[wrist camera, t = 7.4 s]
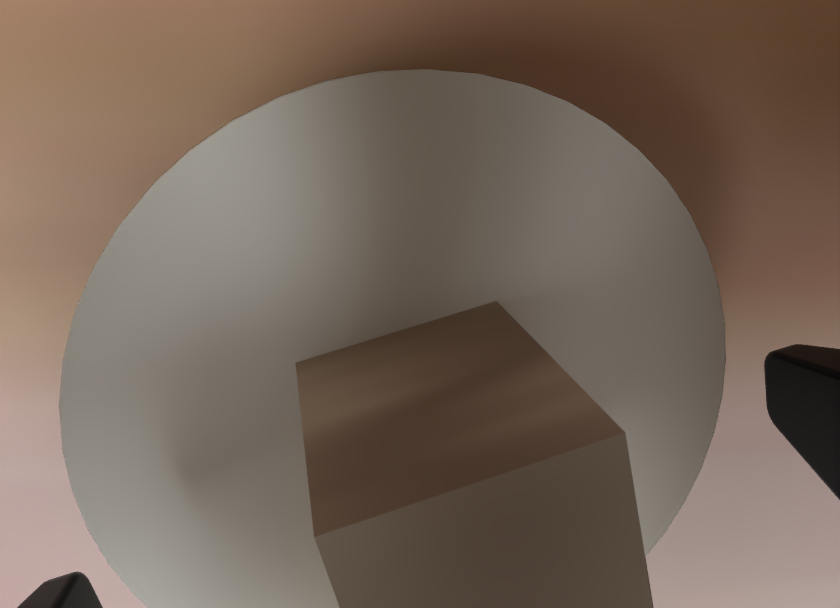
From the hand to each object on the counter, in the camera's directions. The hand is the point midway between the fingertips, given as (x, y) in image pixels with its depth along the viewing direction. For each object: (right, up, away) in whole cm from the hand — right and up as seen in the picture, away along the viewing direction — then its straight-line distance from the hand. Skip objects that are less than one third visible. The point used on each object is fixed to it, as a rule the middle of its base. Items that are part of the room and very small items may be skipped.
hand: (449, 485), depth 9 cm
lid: (0, +1, +2) cm, 2 cm away
